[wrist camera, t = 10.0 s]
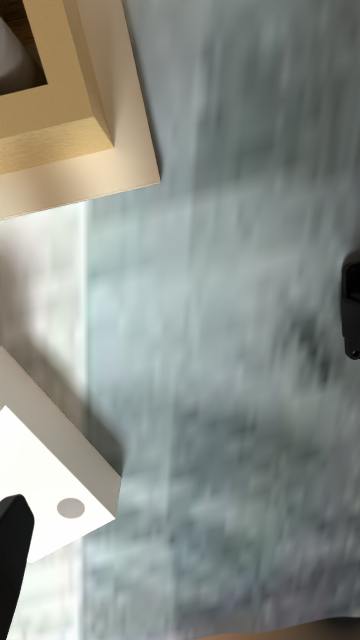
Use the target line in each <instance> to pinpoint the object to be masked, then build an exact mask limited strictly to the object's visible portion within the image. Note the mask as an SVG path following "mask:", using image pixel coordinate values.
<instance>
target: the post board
mask: <svg viewBox="0 0 360 640" xmlns="http://www.w3.org/2000/svg"><path fill="white" fill-rule="evenodd" d="M76 2H77V6H78V10H79V14H80V18H81V22H82V26H83V29H84V33H85V37H86V41H87V45H88V49H89V52H90V56H91V60H92V64H93V68H94V72H95V76H96V79H97V83H98V87H99V91H100V95H101V99H102V103H103V106H104V110H105V114H106V118H107V122H108V126H109V130H110V133H111V137H112V141H113V145H114V148H113V149H108V150H104V151H100V152H96V153H92V154H87V155H83V156H79V157H75V158H71V159H66V160H62V161H58V162H54V163H50V164H46V165H41V166H37V167H33V168H29V169H25V170H20V171H16V172H12V173H8V174H4V175H0V220H4V219H8V218H12V217H17V216H21V215H25V214H30V213H34V212H38V211H43V210H47V209H51V208H56V207H60V206H64V205H69V204H73V203H77V202H82V201H86V200H90V199H95V198H99V197H103V196H108V195H112V194H116V193H121V192H125V191H129V190H134V189H138V188H142V187H147V186H151V185H156V184H160V183H161V181H160V176H159V172H158V167H157V162H156V158H155V153H154V148H153V144H152V139H151V135H150V130H149V125H148V121H147V116H146V112H145V107H144V102H143V98H142V93H141V89H140V84H139V79H138V75H137V70H136V65H135V61H134V56H133V52H132V47H131V42H130V38H129V33H128V29H127V24H126V19H125V15H124V10H123V6H122V1H121V0H76ZM47 84H48V82H47V79H46V76H45V72H44V69H43V66H42V63H41V59H40V56H39V53H38V49H37V46H36V43H34V44H29V45H25V46H23V44H22V43H21V42H20V41H19V39H18V38H17V37H16V36H15V34H14V33H13V32H12V31H11V29H10V28H9V27H8V25H7V24H6V23H5V22H4V20H3V19H2V18H1V17H0V96H2V95H6V94H10V93H14V92H18V91H23V90H27V89H31V88H35V87H39V86H43V85H47Z"/></svg>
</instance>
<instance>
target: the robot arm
mask: <svg viewBox="0 0 360 640" xmlns="http://www.w3.org/2000/svg"><path fill="white" fill-rule="evenodd" d="M353 268H354V273H353V274H352V275H350V271H351V269H353ZM342 285H343V299H342V301H341V312H342V335H343V337H345V353H346V355H347V356H348V357H349V358H351V359H353V360H357V359H360V261H357V262H353V263H349V264H347V265H346V266H344V268H343V270H342ZM354 350H356V352H355V353H354V354H352V353H353V351H354ZM34 525H35V519H34V515H33V513H32V511H31V509H30V507H29V505H28V503H27V501H26V499H25V497H24V496H23V495H22V494H16V495H11V496H7V497H5V498H3V499H2V500H1V501H0V640H6V638H7V635H8V632H9V629H10V625H11V622H12V619H13V615H14V612H15V609H16V605H17V602H18V598H19V594H20V590H21V586H22V582H23V577H24V572H25V568H26V563H27V558H28V554H29V549H30V544H31V540H32V535H33V530H34Z"/></svg>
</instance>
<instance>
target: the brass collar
mask: <svg viewBox="0 0 360 640" xmlns="http://www.w3.org/2000/svg"><path fill="white" fill-rule="evenodd" d="M0 17H1V18H2V19H3V20H4V22H5V23H6V24H7V25H8V27H9V28H10V29H11V31H12V32H13V33H14V34H15V36H16V37H17V38H18V39H19V41H20V42H21V43H22V44H23V46H25V45H29V44H34V43H36V46H37V49H38V53H39V56H40V59H41V63H42V66H43V69H44V72H45V76H46V79H47V82H48V84H47V85H43V86H39V87H35V88H31V89H27V90H23V91H18V92H14V93H10V94H6V95H2V96H0V175H4V174H8V173H12V172H16V171H20V170H25V169H29V168H33V167H37V166H41V165H46V164H50V163H54V162H58V161H62V160H66V159H71V158H75V157H79V156H83V155H87V154H92V153H96V152H100V151H104V150H108V149H113V148H114V145H113V141H112V137H111V133H110V130H109V126H108V122H107V118H106V114H105V110H104V106H103V103H102V99H101V95H100V91H99V87H98V83H97V79H96V76H95V72H94V68H93V64H92V60H91V56H90V52H89V49H88V45H87V41H86V37H85V33H84V29H83V26H82V22H81V18H80V14H79V10H78V6H77V2H76V0H0Z"/></svg>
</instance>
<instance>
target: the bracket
mask: <svg viewBox="0 0 360 640" xmlns="http://www.w3.org/2000/svg"><path fill="white" fill-rule="evenodd" d="M121 479H122V478H121V477H120V476H119V475H118V473H117V472H116V471H115V470H114V469H113V468H112V467H111V466H110V465H109V464H108V462H107V461H106V460H105V459H104V458H103V457H102V456H101V455H100V454H99V452H98V451H97V450H96V449H95V448H94V447H93V446H92V445H91V444H90V443H89V441H88V440H87V439H86V438H85V437H84V436H83V435H82V434H81V433H80V431H79V430H78V429H77V428H76V427H75V426H74V425H73V424H72V423H71V421H70V420H69V419H68V418H67V417H66V416H65V415H64V414H63V413H62V412H61V410H60V409H59V408H58V407H57V406H56V405H55V404H54V403H53V402H52V400H51V399H50V398H49V397H48V396H47V395H46V394H45V393H44V392H43V391H42V389H41V388H40V387H39V386H38V385H37V384H36V383H35V382H34V381H33V379H32V378H31V377H30V376H29V375H28V374H27V373H26V372H25V371H24V369H23V368H22V367H21V366H20V365H19V364H18V363H17V362H16V361H15V360H14V358H13V357H12V356H11V355H10V354H9V353H8V352H7V351H6V350H5V348H4V347H3V346H1V347H0V501H1V500H2V499H3V498H5V497H7V496H11V495H16V494H22V495H23V496H24V497H25V499H26V501H27V503H28V505H29V507H30V509H31V511H32V513H33V515H34V519H35V525H34V530H33V535H32V540H31V544H30V549H29V554H28V558H27V562H28V563H29V564H30V563H32V562H34V561H36V560H38V559H40V558H42V557H44V556H46V555H48V554H49V553H51V552H53V551H55V550H57V549H59V548H61V547H63V546H65V545H66V544H68V543H70V542H72V541H74V540H76V539H78V538H80V537H82V536H83V535H85V534H87V533H89V532H91V531H93V530H95V529H97V528H99V527H101V526H102V525H104V524H106V523H108V522H110V521H112V520H114V519H116V512H117V506H118V499H119V492H120V486H121Z"/></svg>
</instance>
